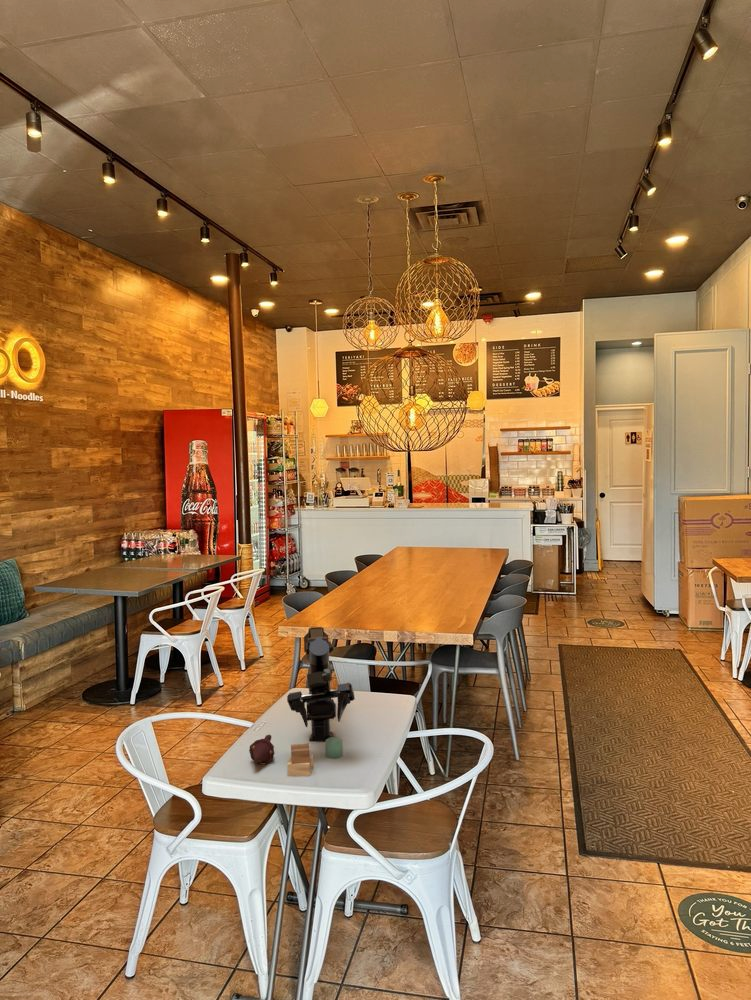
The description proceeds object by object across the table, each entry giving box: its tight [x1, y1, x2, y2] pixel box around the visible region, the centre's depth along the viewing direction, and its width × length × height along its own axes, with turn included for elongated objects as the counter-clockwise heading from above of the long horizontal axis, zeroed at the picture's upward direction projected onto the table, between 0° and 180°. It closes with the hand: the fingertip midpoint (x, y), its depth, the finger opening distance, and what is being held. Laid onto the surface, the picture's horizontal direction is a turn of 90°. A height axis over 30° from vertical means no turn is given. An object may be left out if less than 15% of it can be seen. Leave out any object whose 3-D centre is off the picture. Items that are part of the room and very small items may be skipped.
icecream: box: [248, 734, 275, 765], centre depth 200 cm, size 7×7×15 cm
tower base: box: [286, 754, 314, 777], centre depth 194 cm, size 6×6×4 cm
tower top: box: [290, 742, 311, 764], centre depth 194 cm, size 5×5×4 cm
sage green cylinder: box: [325, 736, 344, 760], centre depth 204 cm, size 5×5×4 cm
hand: (322, 723), depth 196 cm, fingers open, 9 cm apart
